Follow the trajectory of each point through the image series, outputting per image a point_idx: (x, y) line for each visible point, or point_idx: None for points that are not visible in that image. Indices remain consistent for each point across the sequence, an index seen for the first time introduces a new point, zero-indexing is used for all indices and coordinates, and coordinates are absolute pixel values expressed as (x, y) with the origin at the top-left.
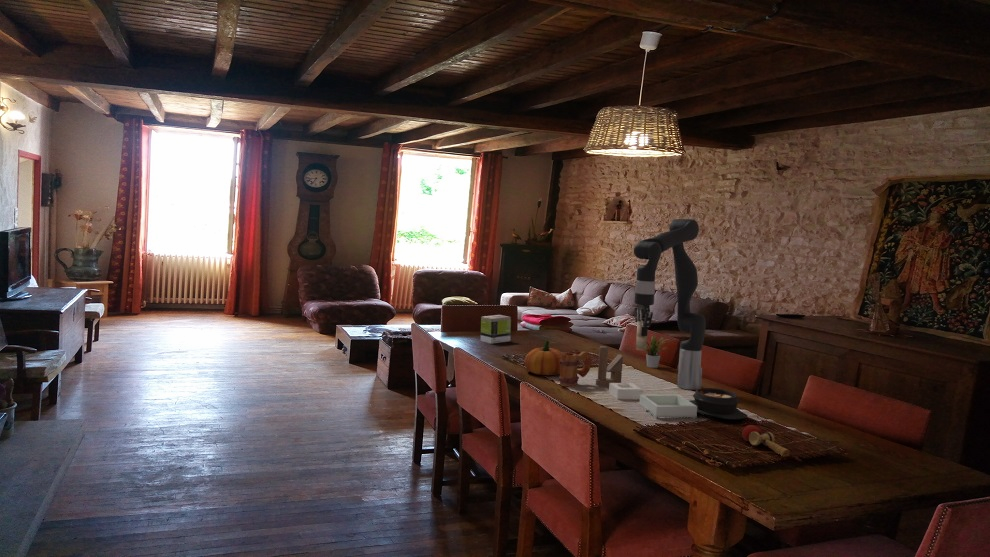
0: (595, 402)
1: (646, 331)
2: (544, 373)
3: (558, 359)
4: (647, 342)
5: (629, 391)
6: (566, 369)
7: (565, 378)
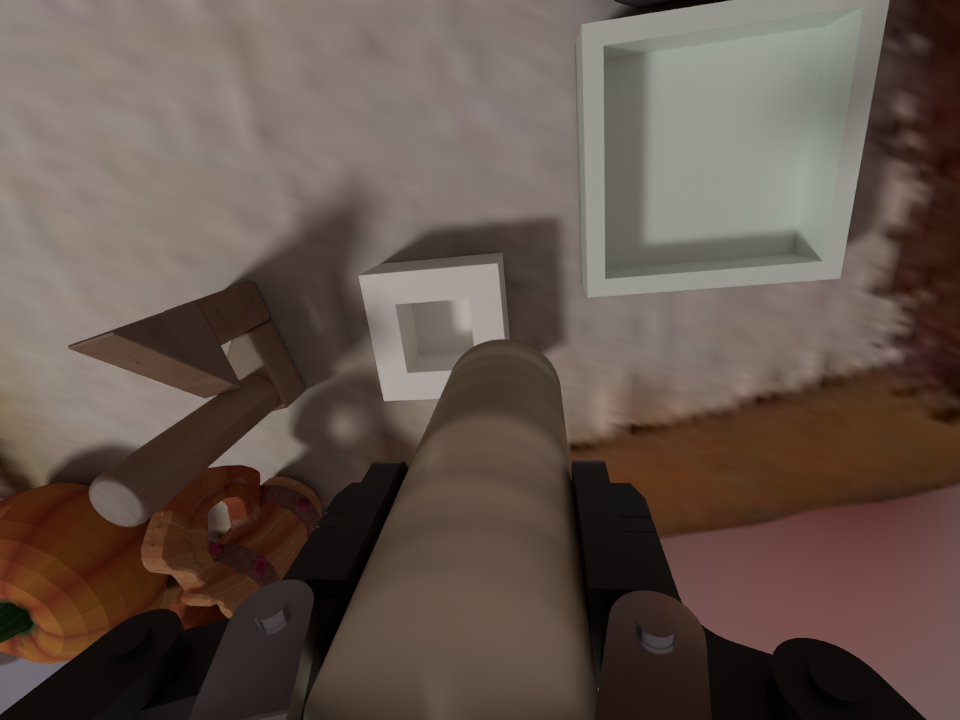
0: None
1: (659, 547)
2: None
3: (87, 562)
4: None
5: (504, 329)
6: None
7: None
